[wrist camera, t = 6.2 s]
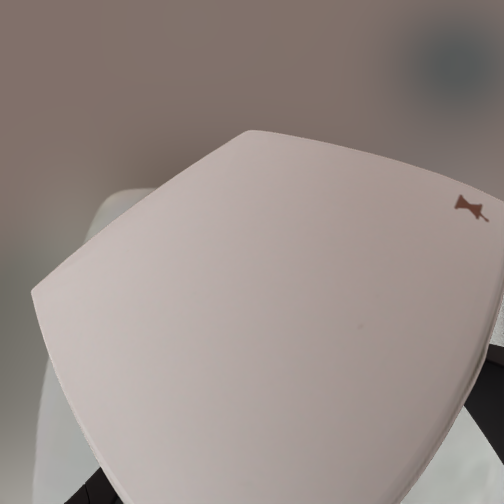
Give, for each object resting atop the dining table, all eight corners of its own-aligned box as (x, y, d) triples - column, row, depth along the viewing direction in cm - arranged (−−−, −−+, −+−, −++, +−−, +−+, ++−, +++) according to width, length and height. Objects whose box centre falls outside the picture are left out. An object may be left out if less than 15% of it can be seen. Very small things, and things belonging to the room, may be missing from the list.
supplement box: (301, 340, 17) (252, 120, 8) (408, 409, 12) (532, 203, 4) (208, 431, 14) (22, 283, 5) (312, 521, 9) (248, 642, 1)
